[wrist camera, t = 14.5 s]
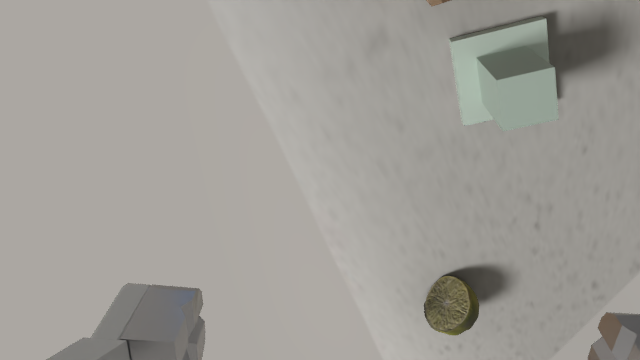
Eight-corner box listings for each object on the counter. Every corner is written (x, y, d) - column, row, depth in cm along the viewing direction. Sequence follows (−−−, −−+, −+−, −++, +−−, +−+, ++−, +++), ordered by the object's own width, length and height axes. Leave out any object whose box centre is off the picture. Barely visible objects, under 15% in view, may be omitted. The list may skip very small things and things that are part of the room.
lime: (420, 307, 50) (427, 345, 45) (427, 266, 48) (435, 301, 43) (467, 311, 50) (478, 349, 45) (476, 269, 48) (490, 305, 43)
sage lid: (448, 38, 39) (468, 62, 32) (540, 15, 38) (580, 35, 31) (461, 120, 41) (481, 157, 35) (547, 101, 40) (584, 135, 34)
